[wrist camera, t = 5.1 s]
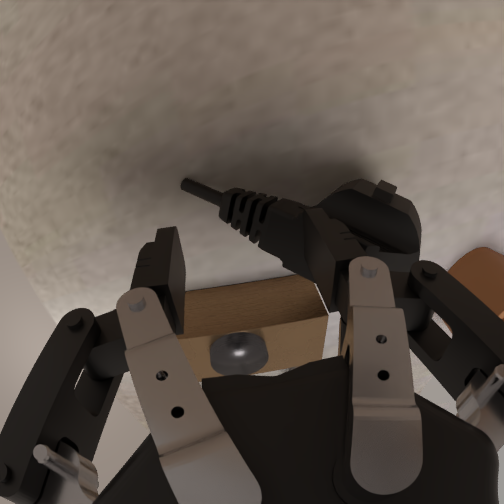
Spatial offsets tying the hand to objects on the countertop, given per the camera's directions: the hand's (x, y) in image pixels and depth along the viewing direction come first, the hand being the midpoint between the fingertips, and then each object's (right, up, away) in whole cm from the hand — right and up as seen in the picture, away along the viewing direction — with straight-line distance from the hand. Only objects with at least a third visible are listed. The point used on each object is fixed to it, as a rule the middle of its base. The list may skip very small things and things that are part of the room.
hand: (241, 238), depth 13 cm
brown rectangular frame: (-1, -9, +13) cm, 16 cm away
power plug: (-2, +4, +6) cm, 7 cm away
